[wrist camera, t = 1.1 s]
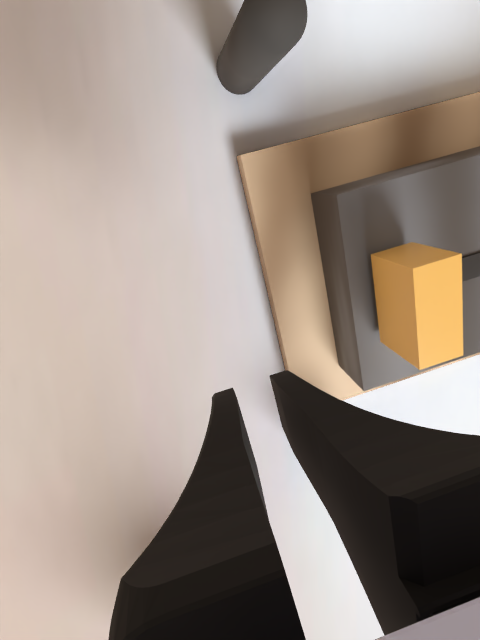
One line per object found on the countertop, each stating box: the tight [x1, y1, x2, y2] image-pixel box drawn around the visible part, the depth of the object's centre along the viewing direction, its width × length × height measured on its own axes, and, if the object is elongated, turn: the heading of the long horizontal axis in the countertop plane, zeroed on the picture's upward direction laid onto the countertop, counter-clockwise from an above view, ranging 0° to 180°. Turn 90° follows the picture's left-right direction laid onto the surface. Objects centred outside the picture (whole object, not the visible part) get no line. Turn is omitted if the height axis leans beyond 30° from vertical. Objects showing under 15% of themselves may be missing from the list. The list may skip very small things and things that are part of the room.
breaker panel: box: [237, 92, 480, 400], centre depth 20 cm, size 15×15×4 cm
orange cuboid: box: [371, 242, 463, 370], centre depth 16 cm, size 2×4×3 cm, turn 14°
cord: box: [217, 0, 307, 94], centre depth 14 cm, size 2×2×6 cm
